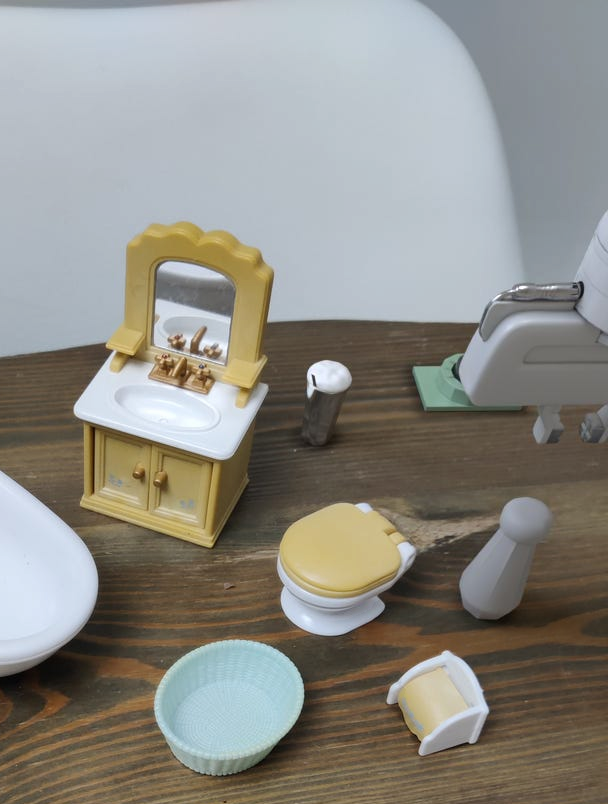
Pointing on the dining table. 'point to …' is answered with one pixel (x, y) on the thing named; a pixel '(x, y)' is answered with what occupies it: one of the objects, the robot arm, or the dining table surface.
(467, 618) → the dining table surface
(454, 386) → the green base push button
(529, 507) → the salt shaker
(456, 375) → the button
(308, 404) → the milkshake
